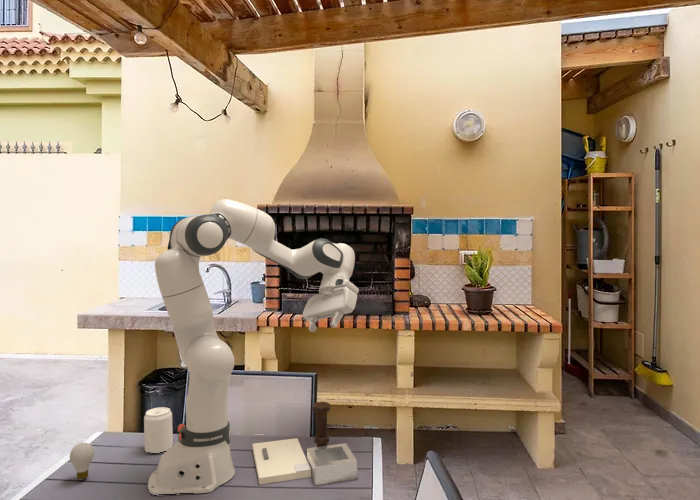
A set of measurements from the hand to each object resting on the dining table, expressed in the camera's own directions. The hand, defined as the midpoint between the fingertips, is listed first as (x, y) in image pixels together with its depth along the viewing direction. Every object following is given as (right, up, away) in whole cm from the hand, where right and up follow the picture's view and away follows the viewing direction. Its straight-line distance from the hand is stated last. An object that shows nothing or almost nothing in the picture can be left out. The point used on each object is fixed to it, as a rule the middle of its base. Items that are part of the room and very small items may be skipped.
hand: (322, 328), depth 145 cm
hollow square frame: (+3, -38, -11) cm, 40 cm away
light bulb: (-65, -39, -14) cm, 77 cm away
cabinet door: (-12, -38, -5) cm, 40 cm away
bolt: (0, -38, 0) cm, 38 cm away
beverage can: (-51, -39, +4) cm, 64 cm away
